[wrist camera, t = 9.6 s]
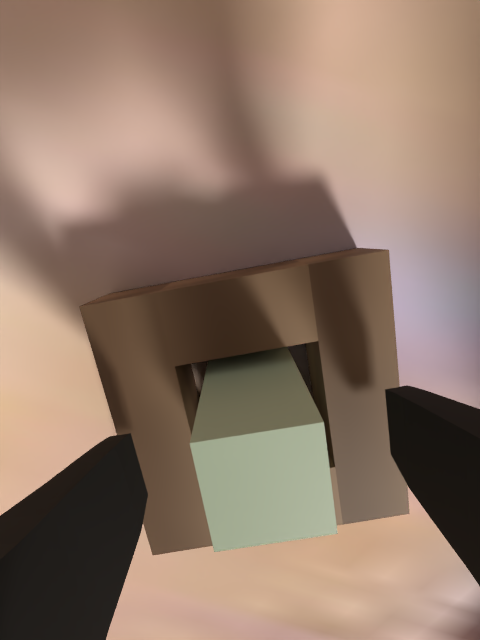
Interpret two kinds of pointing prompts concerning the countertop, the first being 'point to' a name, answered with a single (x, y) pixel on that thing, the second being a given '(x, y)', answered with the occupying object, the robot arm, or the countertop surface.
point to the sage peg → (261, 453)
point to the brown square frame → (242, 338)
